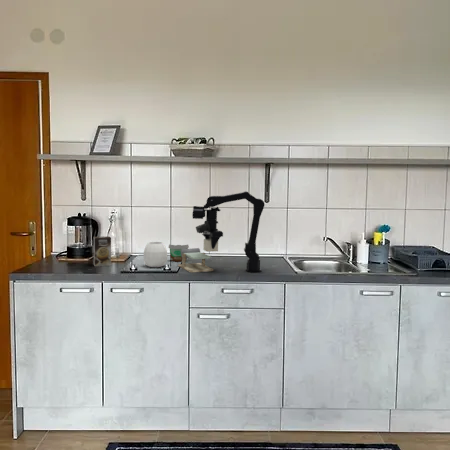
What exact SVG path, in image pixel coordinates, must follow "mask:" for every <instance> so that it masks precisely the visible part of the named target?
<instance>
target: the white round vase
mask: <svg viewBox="0 0 450 450" xmlns="http://www.w3.org/2000/svg"><path fill="white" fill-rule="evenodd" d="M167 261H168V250H167V248H166V245H165V243H164V242H162V241H148V242H147V244H146V245H145V247H144V249H143V262H144V264H145V266H146V267H150V268H162V267H164V266H165V265H166V264H167Z"/></svg>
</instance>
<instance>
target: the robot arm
mask: <svg viewBox="0 0 450 450" xmlns="http://www.w3.org/2000/svg"><path fill="white" fill-rule="evenodd" d="M240 200H241V201H242V200H246V201H247V202H249V203H250V204H251V205H253V208H252V212H253V214H252V216H253V217H252V222H251V226H250V227H251V228H250V232H249V238H248V240H247V242H244V248H243V251H244V253H245V256H246V257H247V261H246V269H245V271H246V272H250V273H257V272H258V273H260V272H262V270H261V268H260V267H261V259H260V255H259V254H258V252H257V248H256V247H257V245H256V244H257V242H256V241H257V235H258V231H259V225H260V219H261V215H262V213H263V211H264V208H265V202H264V200H263V199H261V198H256V197H255V196H253V195H252V194H250V193H249V192H248V191H246V190H245V191H243V192H238V193H232V194H226V195H211V196H209V197H207V198H206V203H205V204H204V205H203V206H198V205H193V206H192V214H191V215H192V219H195V220H204V218H206V219H205V221H204V223H203V224H200V225H197V226H195V230H196V233H197V234H198V233H199V234H201V235H202V236H203V237H204V239H211V245H212V249H214V248H215V246H216V244H217V242H218V243H219V240H220V238H222V237H224V232H223V231H222V230H219V229H218V227H217V224H219V221H217V220H218V212H221V209H220V208H219V206H220V205H222V204H225V203H230V202H235V201H240ZM209 208H210V209H209Z"/></svg>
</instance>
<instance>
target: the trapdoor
mask: <svg viewBox="0 0 450 450" xmlns="http://www.w3.org/2000/svg"><path fill="white" fill-rule="evenodd" d="M203 253H204V252H201V249H200V248H199V247H198V248H195V247H194V248H188V249H181V257H182V254H186V259H188V258H190V259H191V260H202V259H205V260H206V259H208V260H209V259H212V256H211V255H208V254H206V253H205V254H203Z"/></svg>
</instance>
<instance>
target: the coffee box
mask: <svg viewBox="0 0 450 450" xmlns="http://www.w3.org/2000/svg"><path fill="white" fill-rule="evenodd" d="M93 266H94V267H111V266H112V237H110V236H93Z"/></svg>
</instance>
